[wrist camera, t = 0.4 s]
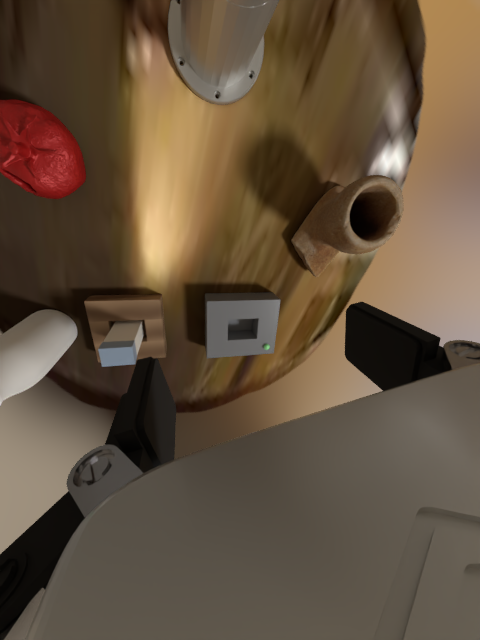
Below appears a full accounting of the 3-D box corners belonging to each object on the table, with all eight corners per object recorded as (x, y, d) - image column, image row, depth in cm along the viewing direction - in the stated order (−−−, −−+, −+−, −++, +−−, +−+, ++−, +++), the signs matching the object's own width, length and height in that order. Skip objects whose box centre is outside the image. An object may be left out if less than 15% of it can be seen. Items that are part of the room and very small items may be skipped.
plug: (116, 319, 43) (98, 349, 34) (142, 318, 44) (132, 346, 35) (119, 333, 45) (102, 366, 35) (144, 332, 46) (134, 364, 36)
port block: (204, 293, 45) (206, 302, 41) (272, 292, 49) (281, 300, 44) (205, 346, 50) (207, 359, 46) (266, 342, 53) (274, 354, 49)
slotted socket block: (90, 295, 41) (83, 301, 38) (161, 294, 44) (160, 299, 41) (103, 353, 46) (98, 362, 43) (166, 349, 49) (165, 357, 46)
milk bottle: (43, 299, 40) (-68, 370, 22) (87, 325, 43) (21, 404, 26) (19, 330, 41) (-106, 421, 23) (63, 353, 44) (-16, 447, 27)
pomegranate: (68, 108, 31) (28, 68, 23) (105, 191, 36) (82, 183, 27) (-11, 123, 30) (-83, 88, 22) (37, 207, 34) (-8, 205, 26)
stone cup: (327, 167, 41) (397, 147, 28) (364, 214, 46) (437, 215, 33) (272, 239, 44) (310, 252, 31) (311, 276, 49) (359, 300, 36)
